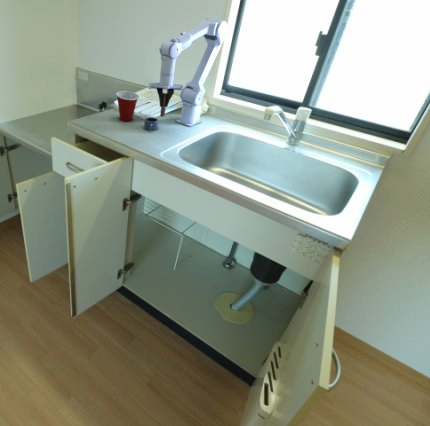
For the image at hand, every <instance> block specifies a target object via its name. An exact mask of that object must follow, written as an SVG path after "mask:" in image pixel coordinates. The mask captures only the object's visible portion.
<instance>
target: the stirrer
mask: <svg viewBox="0 0 430 426" xmlns="http://www.w3.org/2000/svg"><path fill="white" fill-rule="evenodd" d="M166 101H167V92H163V96H162V107H160V114H159V115H160V118H161V117H162V118H164V117H165V116H166V108H167V107H166Z"/></svg>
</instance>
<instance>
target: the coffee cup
mask: <svg viewBox="0 0 430 426" xmlns="http://www.w3.org/2000/svg"><path fill="white" fill-rule="evenodd" d="M143 123H144V124H143V129H144V130H147V131H149V132H152V131H153V132H154V131H157V130H158V128H159V127H158V126H159V119H158V118H157V117H153V116H147V117H145V118H144V121H143Z"/></svg>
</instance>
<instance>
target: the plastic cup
mask: <svg viewBox="0 0 430 426" xmlns="http://www.w3.org/2000/svg"><path fill="white" fill-rule="evenodd" d="M115 96H116V98H117V105H118V106H117V107H118V114H119V119H120V121H122V122H131V121H133V119H134V114H135V109H136V105H137V102H138V100H139V98H140V95H139V94H138V93H136V92H133V91H128V90H120V91H117V92H116V93H115Z"/></svg>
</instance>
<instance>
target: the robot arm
mask: <svg viewBox="0 0 430 426" xmlns="http://www.w3.org/2000/svg"><path fill="white" fill-rule="evenodd" d="M228 32H229V31H228V23H227V21H225V20H220V19H212V18H209V17H208V18H205V19H203V20H201V22H200V23H199V24H198V25H197V26H196V27H194V28H193V29H192V30H190V31H189V32H187V31H181V32H179V34H178V35H176V36H175V37H172V38H171V39H170V40H165V41H164V42H162V43H161V45H160V48H159V54H160V62H161V63H160V64H161V65H160V72H159V82H148V89H149V90H156V92H157V96H158V99H159V107H160V108H161V107H162V96H163V93H164V90H166V93H167V101H166V108H168V106H169V102H170V101H171V99H172V98H173V95H174V93H175V91H180V94H179V99H180V100H181V103H182V105H181V106H182V107H181V113H180V119H176V122H177V123H179V124H182V125H184V126H187V127H191V126H194V125H197V124H199V123H201V122H202V121H201V120H200V119H201V114H202V106H201V104H202V103H203V100H204V96H205V93H206V89H205V87H204V84H205V81H206V80H207V77H208V75H209V73H210V70H211V69H212V67H213V64H214V62H215V60H216V58H217V56H218V53H219V51H220V49H221V47H222V44H223V42H224V40H225V38H226V37H227V33H228ZM201 37H203V38H204V40H205V43H206V44H207V45H206V49H205V50H204V53H203V55H202V57H201V59H200V61H199V64H198V66H197V69H196V70H195V73H194V75H193V77H192V79H191V80H190V81H188V82H187V83H185V85H183V84H177V83H174V78H175V69H176V61H177V58H178V57H179V56H180V54H181V52H183V51H184V50H186V49H187V48H189V47H190V46H192V44H193V41H195V40H197V39H198V38H201Z"/></svg>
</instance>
